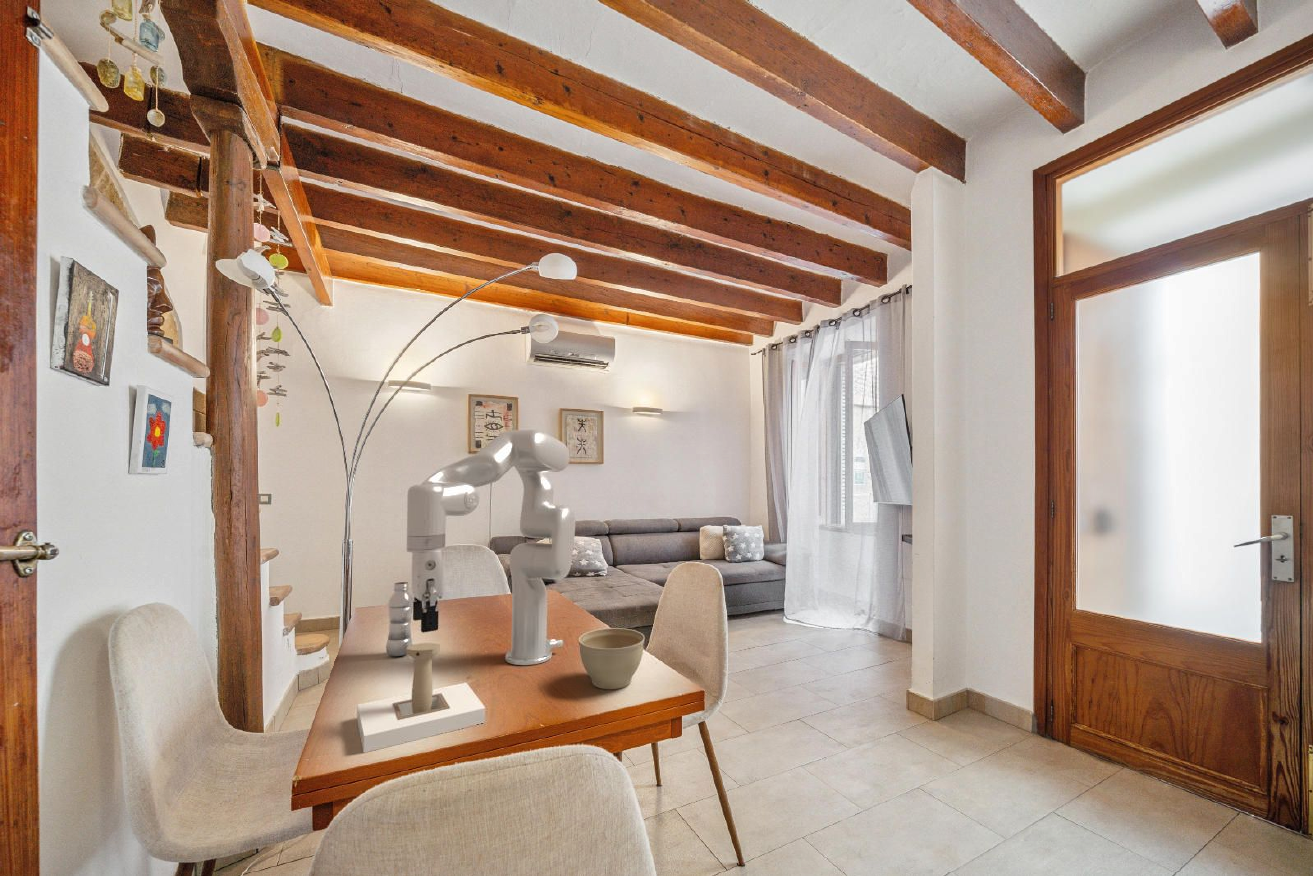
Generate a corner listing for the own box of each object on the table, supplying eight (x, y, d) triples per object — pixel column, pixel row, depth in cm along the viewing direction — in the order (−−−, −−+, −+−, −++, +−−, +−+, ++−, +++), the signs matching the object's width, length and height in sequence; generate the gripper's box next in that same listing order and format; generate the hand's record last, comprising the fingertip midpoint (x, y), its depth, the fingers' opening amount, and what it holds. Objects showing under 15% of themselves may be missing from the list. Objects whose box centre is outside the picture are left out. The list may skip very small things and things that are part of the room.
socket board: (465, 696, 124) (466, 681, 124) (485, 723, 110) (485, 707, 110) (356, 719, 112) (357, 703, 112) (363, 753, 98) (364, 735, 99)
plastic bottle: (391, 651, 154) (393, 581, 156) (415, 651, 155) (417, 580, 156) (381, 659, 148) (384, 585, 149) (407, 658, 148) (409, 585, 150)
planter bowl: (571, 675, 136) (572, 632, 137) (631, 667, 142) (631, 625, 143) (587, 700, 121) (588, 651, 122) (654, 690, 127) (654, 643, 128)
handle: (430, 726, 109) (433, 650, 110) (400, 725, 109) (402, 650, 110) (441, 716, 113) (443, 643, 114) (412, 715, 114) (414, 642, 115)
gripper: (454, 546, 108) (453, 632, 108) (436, 537, 123) (436, 612, 122) (413, 550, 104) (412, 639, 103) (400, 539, 119) (399, 618, 118)
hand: (425, 625), depth 113 cm, fingers open, 9 cm apart
